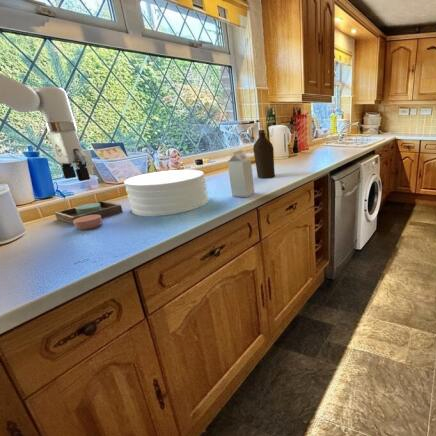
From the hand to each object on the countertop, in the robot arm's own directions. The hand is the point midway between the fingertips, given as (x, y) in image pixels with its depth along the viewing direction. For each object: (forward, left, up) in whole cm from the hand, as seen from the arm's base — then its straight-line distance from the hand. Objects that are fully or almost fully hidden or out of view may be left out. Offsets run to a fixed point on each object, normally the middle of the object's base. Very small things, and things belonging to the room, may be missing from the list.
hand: (77, 179), depth 105 cm
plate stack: (+23, -14, -14) cm, 31 cm away
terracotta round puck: (-5, -11, -14) cm, 19 cm away
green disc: (+1, +2, -13) cm, 14 cm away
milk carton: (+46, -31, -14) cm, 57 cm away
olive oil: (+80, -15, -14) cm, 83 cm away
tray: (+1, +2, -14) cm, 14 cm away
